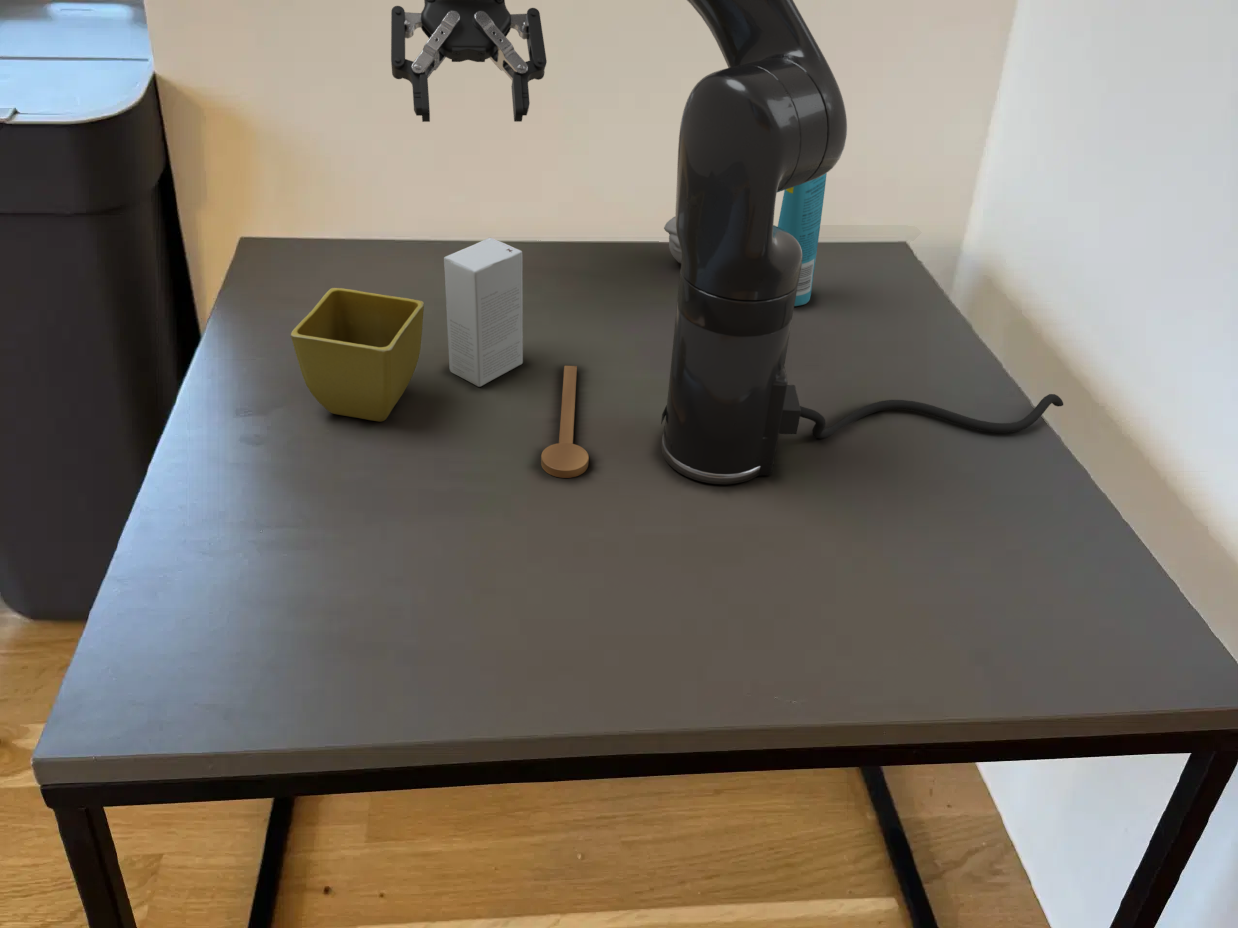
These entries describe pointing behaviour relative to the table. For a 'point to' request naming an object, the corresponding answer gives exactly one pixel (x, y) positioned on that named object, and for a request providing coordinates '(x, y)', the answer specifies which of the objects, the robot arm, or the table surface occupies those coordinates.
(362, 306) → the flower pot
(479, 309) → the cosmetic box
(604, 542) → the table surface
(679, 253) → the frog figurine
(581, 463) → the wooden spoon
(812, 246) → the tube
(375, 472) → the table surface
